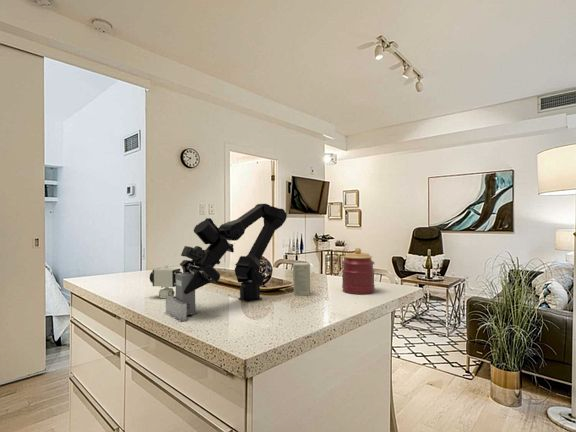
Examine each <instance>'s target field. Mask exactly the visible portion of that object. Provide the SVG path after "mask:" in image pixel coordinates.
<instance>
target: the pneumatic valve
mask: <svg viewBox="0 0 576 432" xmlns="http://www.w3.org/2000/svg"><path fill="white" fill-rule="evenodd" d="M178 273H183V271H181V268H174V267H173V268H170V267H169V266H168V265H165V266H164V267H158V268H154V269H152V271H151V272H150V273H149V281H150V283H151V285H152V287H160V288H161V289H159V291H158V296H159V298H160V299H165V300H166V296H172V297H175V290H174V287H175V288H176V274H178Z"/></svg>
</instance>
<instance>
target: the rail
mask: <svg viewBox="0 0 576 432" xmlns="http://www.w3.org/2000/svg"><path fill="white" fill-rule="evenodd" d="M188 309H190V304H189V303H187V304H186V303H184V302H182V301H180V300H178V299H176V296H173V297H172V296H166V299H165V313H167V314H168V315H169V316H170V317H172V318H174V319H176V320H178V321H180V322H187V321H188V319H187V316H188V315H187V310H188Z"/></svg>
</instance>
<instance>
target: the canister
mask: <svg viewBox="0 0 576 432" xmlns="http://www.w3.org/2000/svg"><path fill="white" fill-rule="evenodd" d="M343 258H344V259H343V260H342V261H341V264H342V267H343V268H342V270H341V272H342V273H341V274H342V284H341V287H342V291H343V292H344V293H347V294H354V295H369V294H373V293H374V292H375V289H376V288H375V286H376V285H375V270H374V265H375V262H374V261H373V259H372V258H373V256H372V255H370V254H369V253H366V252H362V250H361V248H360V247H356V248H355V249H354V252H348V253H347V254H345V255H343Z"/></svg>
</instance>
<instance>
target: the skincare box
mask: <svg viewBox="0 0 576 432" xmlns="http://www.w3.org/2000/svg"><path fill="white" fill-rule="evenodd" d="M292 278H293V279H292V280H293V282H292V283H293V295H294V296H310V294H311V270H310V262H294V263H293V264H292Z"/></svg>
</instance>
